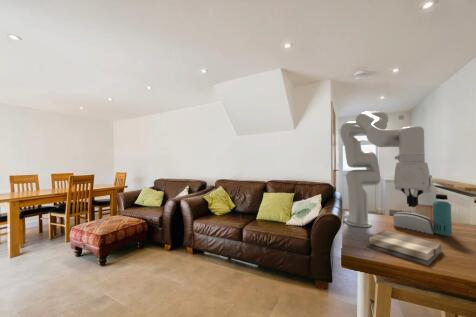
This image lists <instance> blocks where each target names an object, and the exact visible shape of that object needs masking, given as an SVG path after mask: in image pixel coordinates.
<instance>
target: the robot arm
mask: <svg viewBox="0 0 476 317" xmlns="http://www.w3.org/2000/svg"><path fill="white" fill-rule="evenodd" d="M388 123H389V117H388V114H387V113H386V112H384V111H364V112H361V113H359V114H358V115H357V116H356V117H355V121H354V120H353V121H347V122H344V123H343V124H342V125H341V126H340V138H341V140H342V142H343V145H344V150H345V152H344V153H345V161H346V164H347V166H348V167H350V168H357V169H352V170H351V169H350V170H349V171H348V172H346V173H345V180H346V183H347V184H346V186H347V193H348V194H347V195H348V196H347V198H348V214H346V213H343V214H342V218H344V219H347V220H345V222H346V224H347V225H349V226H351V227H357V228H369V227H371V226H372V222H370V221H369V214H368V213H369V212H368V211H369V210H368V193H367V191H366V190H365V189H364V187H375V186H378V185H380V183H381V171H380V165H379V160H378V156H377V155H376V153H374V152H373V151H363V150H362V145H361V142H360V141H359V140H358V139H357V138H356V137H362V136H365V137H366V139H367V140H368V142H369V143H371V144H372V145H374V146H375V147H379V148H398V155H396V156H395V155H394V160H398V161H397V162H396V163H395V169H394V176H393V177H394V178H393V184H394V187H395V188H394V190H396V191H399V192H402V193H403V195H405V196H406V204H407V205H408V207H410V208H411V207H412V208H416V206H417V205H418V196H419V195H421V194H422V193H429V192H431V189H430V185H431V181H430V175H431V174H430V170H429V169H430V168H429V165H428V162H426V161H425V160H426V159H425V152H426V151H425V129H424V127H423V126H420V125H419V126H418V125H416V126H414V125H413V126H406V127H401V128H391V129H390V128H389V129H387V127H388ZM355 136H356V137H355ZM358 168H365V169H358ZM420 189H421V190H420ZM423 189H424V190H423ZM412 190H413V193H412Z"/></svg>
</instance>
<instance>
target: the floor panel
mask: <svg viewBox="0 0 476 317" xmlns="http://www.w3.org/2000/svg"><path fill="white" fill-rule="evenodd" d="M377 234H378V235H382V236H386V237H390V238H394V239H398V240H402V241H406V242H410V243H413V244H417V245H421V246H425V247H429V248H433V249H434V256H432V257H431V258H430V259H429V260H424V259H420V258H417V257H414V256H410V255H407V254H403V253H400V252H397V251H393V250H390V249H386V248H383V247H380V246H376V245H373V244H370V243H369V242H368V243H367V244H366V246H365V247H366V248H370V249H372V250H375V251H380V252H382V253H386V254H390V255H392V256H395V257H399V258H402V259H405V260H408V261H411V262H415V263H417V264H421V265H424V266H427V267H428V266H430V264H431V263H433V261H434V260H436V258H437V257H438V256H439V255H441V254H442V243H440V242H436V241H432V240H427V239H423V238H420V237H414V236H410V235H405V234H401V233H398V232H393V231H387V230H381V231H379V232H378V233H376V235H377Z"/></svg>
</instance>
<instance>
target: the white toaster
mask: <svg viewBox="0 0 476 317" xmlns="http://www.w3.org/2000/svg"><path fill="white" fill-rule="evenodd" d="M392 219H393V221H392V222H393V227H396V228H401V229H405V228H407V229H406V230H410V229H411V230H410V231H415V230H417V231H416V232H419V231H421V233H424V232H425V233H424V234H430V235H434V233H435V232H434V229H433V228H434V227H433V224H432V221H431V219H430V218H428V217H425V216H423V215H419V214H416V212H408V211H405V212H404V211H402V212H401V211H399V212H395V213H394V215H393V218H392Z"/></svg>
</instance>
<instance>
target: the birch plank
mask: <svg viewBox="0 0 476 317" xmlns="http://www.w3.org/2000/svg"><path fill="white" fill-rule="evenodd" d="M368 239H369V242H368V244H369V243H370V244H373V245H376V246H380V247H383V248H386V249H390V250H393V251H397V252H400V253H403V254H407V255H410V256H414V257H417V258H420V259H424V260H429V259H430V258H431V257H432V256H434V249H433V248H429V247H425V246H421V245H417V244H413V243H410V242H406V241H402V240H398V239H394V238H390V237H386V236H382V235H378V234H377V233H376V234H375V235H372V236H370V237H369V238H368Z"/></svg>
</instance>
